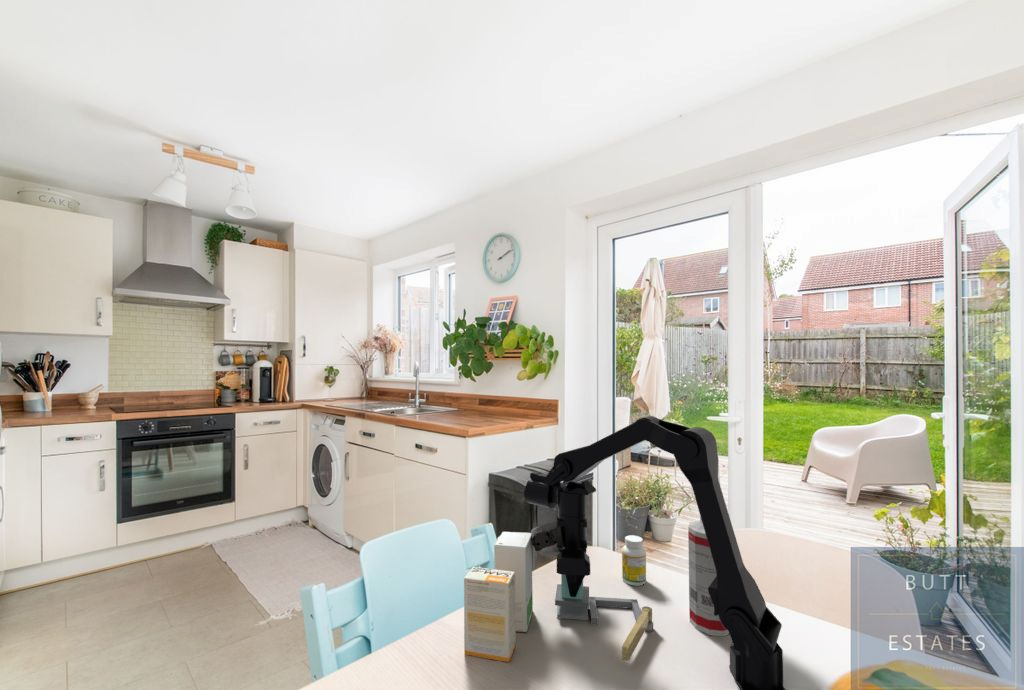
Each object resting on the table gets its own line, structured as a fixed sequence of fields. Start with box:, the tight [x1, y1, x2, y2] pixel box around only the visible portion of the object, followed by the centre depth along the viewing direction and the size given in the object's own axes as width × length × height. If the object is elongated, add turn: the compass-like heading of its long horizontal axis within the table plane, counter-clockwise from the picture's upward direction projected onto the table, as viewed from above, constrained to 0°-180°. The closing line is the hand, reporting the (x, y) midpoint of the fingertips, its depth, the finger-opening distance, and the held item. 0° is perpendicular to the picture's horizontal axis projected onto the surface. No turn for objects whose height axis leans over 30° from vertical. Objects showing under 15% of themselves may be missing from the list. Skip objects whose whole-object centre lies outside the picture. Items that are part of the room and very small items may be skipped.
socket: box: [589, 596, 654, 633], centre depth 89 cm, size 12×9×1 cm
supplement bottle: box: [621, 534, 647, 587], centre depth 104 cm, size 5×5×10 cm
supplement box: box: [463, 566, 517, 663], centre depth 78 cm, size 8×5×13 cm, turn 74°
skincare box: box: [493, 531, 534, 633], centre depth 88 cm, size 8×7×16 cm
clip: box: [621, 605, 653, 663], centre depth 79 cm, size 14×2×2 cm, turn 148°
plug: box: [554, 574, 590, 609], centre depth 91 cm, size 7×7×6 cm
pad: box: [556, 605, 589, 621], centre depth 91 cm, size 6×6×1 cm
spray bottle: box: [687, 515, 730, 637], centre depth 87 cm, size 8×8×25 cm
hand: (572, 590), depth 91 cm, fingers closed on plug, 4 cm apart
